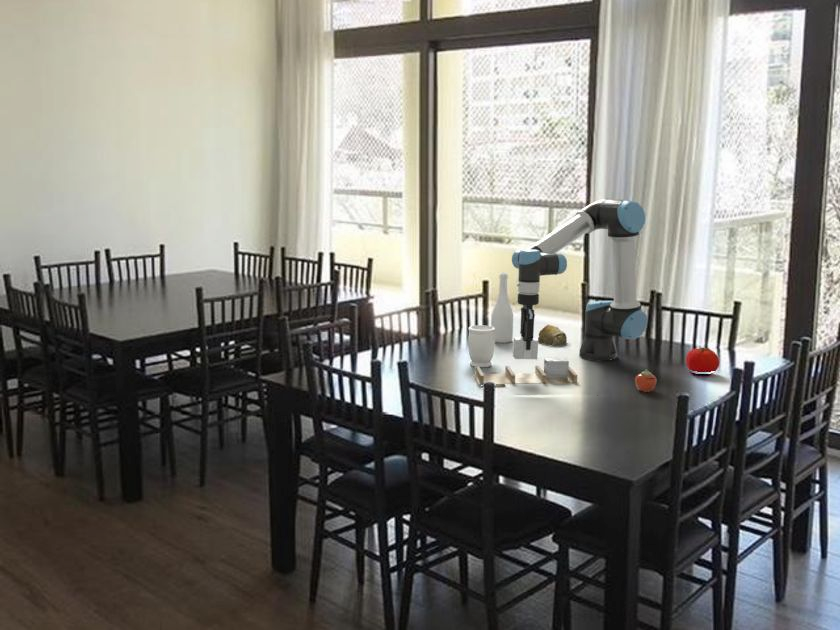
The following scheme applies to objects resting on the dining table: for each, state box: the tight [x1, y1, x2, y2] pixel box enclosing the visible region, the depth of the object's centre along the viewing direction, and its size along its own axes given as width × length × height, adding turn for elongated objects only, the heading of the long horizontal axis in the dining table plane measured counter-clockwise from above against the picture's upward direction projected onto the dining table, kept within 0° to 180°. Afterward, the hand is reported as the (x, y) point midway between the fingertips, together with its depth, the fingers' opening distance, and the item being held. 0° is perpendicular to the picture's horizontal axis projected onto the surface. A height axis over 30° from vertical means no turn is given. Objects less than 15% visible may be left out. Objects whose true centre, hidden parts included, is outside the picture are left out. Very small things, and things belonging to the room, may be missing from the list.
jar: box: [467, 324, 496, 368], centre depth 340 cm, size 11×10×15 cm
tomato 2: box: [685, 345, 720, 372], centre depth 331 cm, size 11×13×10 cm
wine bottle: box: [490, 272, 514, 344], centre depth 381 cm, size 10×10×30 cm
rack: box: [473, 365, 579, 388], centre depth 317 cm, size 36×15×4 cm, turn 94°
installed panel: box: [543, 357, 570, 380], centre depth 318 cm, size 8×4×7 cm, turn 94°
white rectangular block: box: [512, 336, 539, 360], centre depth 316 cm, size 8×4×7 cm, turn 94°
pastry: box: [537, 324, 568, 347], centre depth 381 cm, size 14×12×8 cm
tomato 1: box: [634, 368, 658, 392], centre depth 307 cm, size 7×7×8 cm
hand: (525, 356), depth 316 cm, fingers closed on white rectangular block, 4 cm apart
